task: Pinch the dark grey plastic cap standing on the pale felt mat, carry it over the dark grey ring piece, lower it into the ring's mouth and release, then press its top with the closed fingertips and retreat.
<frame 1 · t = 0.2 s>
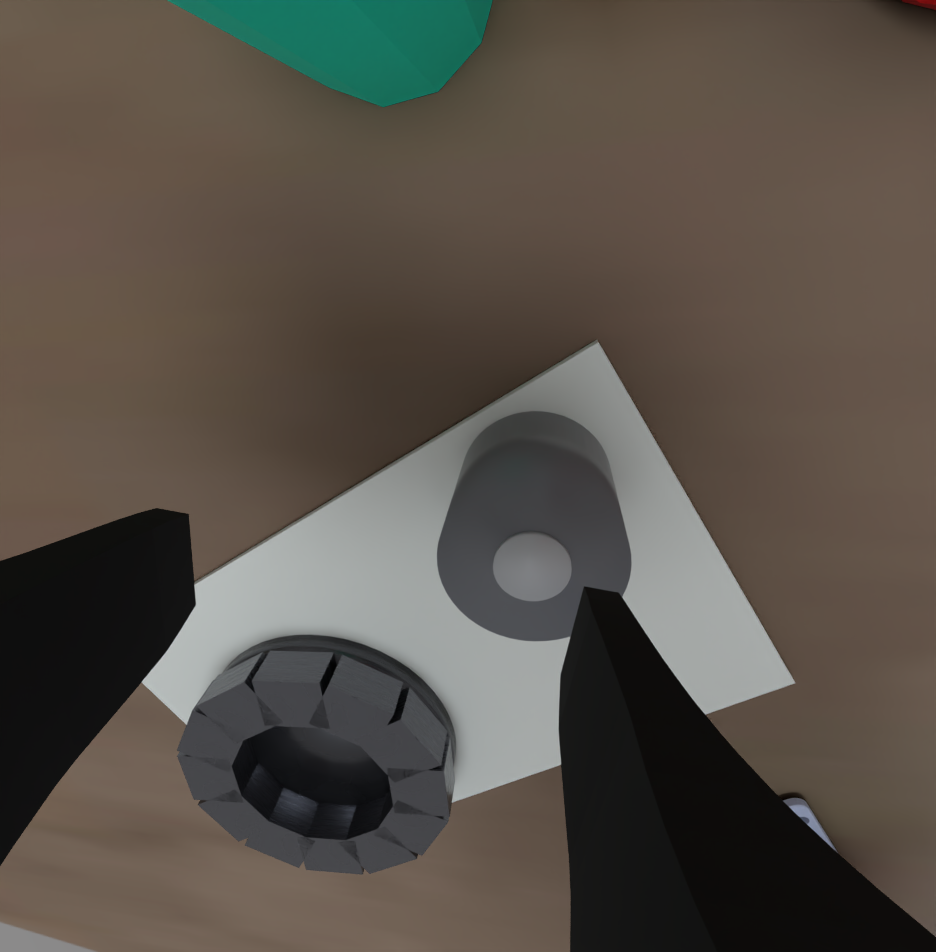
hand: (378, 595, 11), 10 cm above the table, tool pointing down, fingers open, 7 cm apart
cap: (535, 482, 20), resting on mat
dark grey ring piece: (333, 733, 26), resting on mat
mat: (423, 654, 24), on the table
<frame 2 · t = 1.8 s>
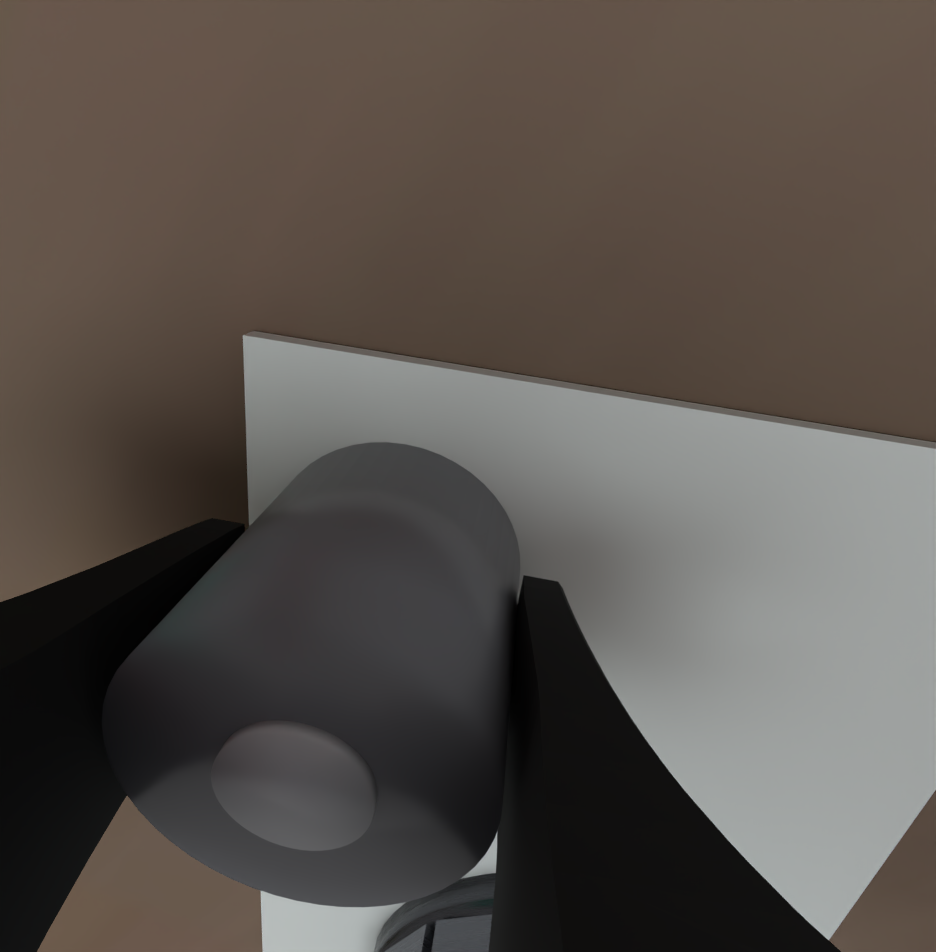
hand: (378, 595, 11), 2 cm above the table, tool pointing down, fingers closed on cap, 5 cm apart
cap: (394, 559, 12), resting on mat, touching gripper
mat: (543, 839, 15), on the table
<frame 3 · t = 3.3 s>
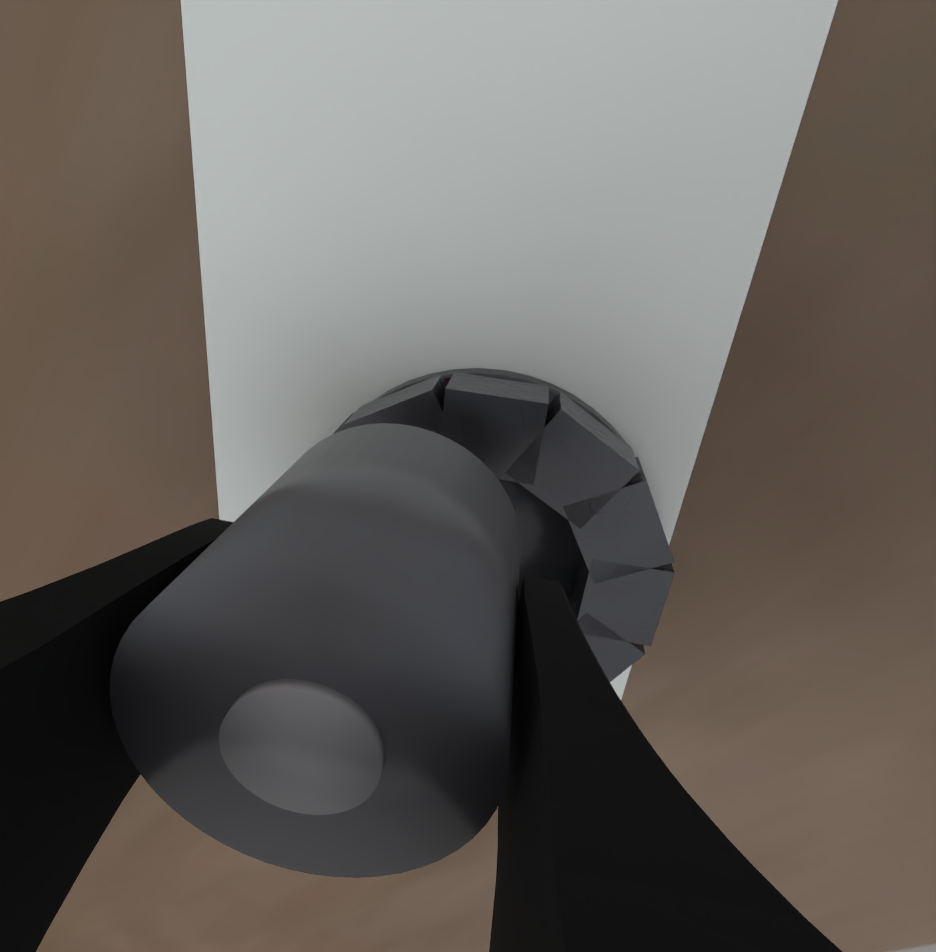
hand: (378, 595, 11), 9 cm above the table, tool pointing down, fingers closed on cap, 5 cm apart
cap: (395, 542, 12), point 7 cm above the table, touching gripper
dark grey ring piece: (479, 532, 19), resting on mat
mat: (456, 342, 17), on the table
when the fingers open (4 cm above the table, at t = 5.0 s): cap stays where it is, resting on dark grey ring piece.
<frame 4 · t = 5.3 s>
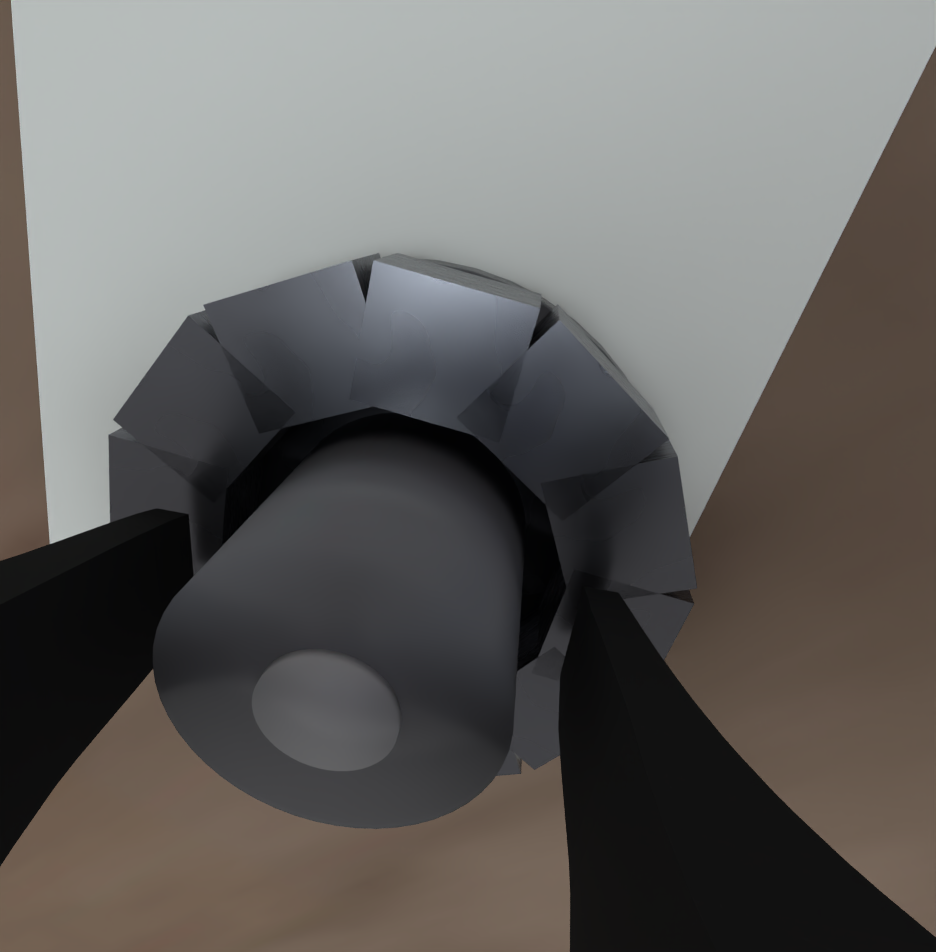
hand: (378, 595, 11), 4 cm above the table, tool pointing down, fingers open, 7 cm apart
cap: (407, 524, 12), point 1 cm above the table, touching dark grey ring piece
dark grey ring piece: (415, 512, 13), resting on mat
mat: (409, 218, 11), on the table
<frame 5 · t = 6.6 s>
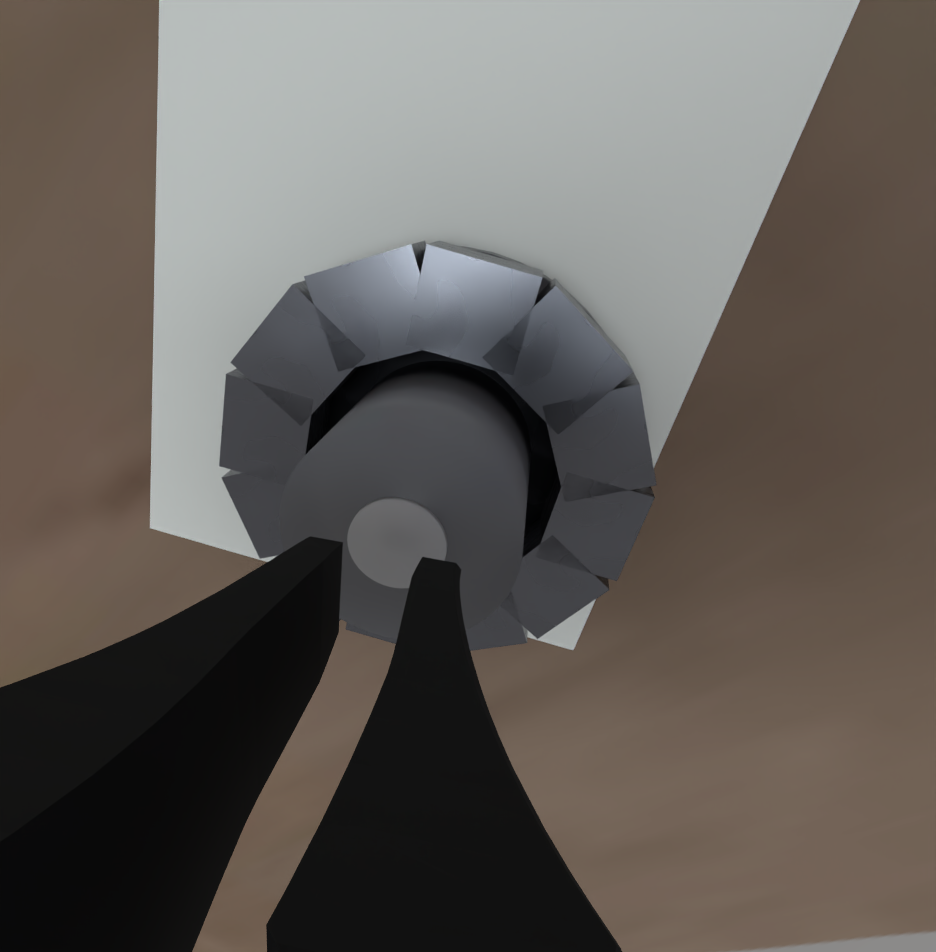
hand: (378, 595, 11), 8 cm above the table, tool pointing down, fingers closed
cap: (440, 449, 16), point 1 cm above the table, touching dark grey ring piece
dark grey ring piece: (444, 444, 17), resting on mat
mat: (444, 215, 15), on the table
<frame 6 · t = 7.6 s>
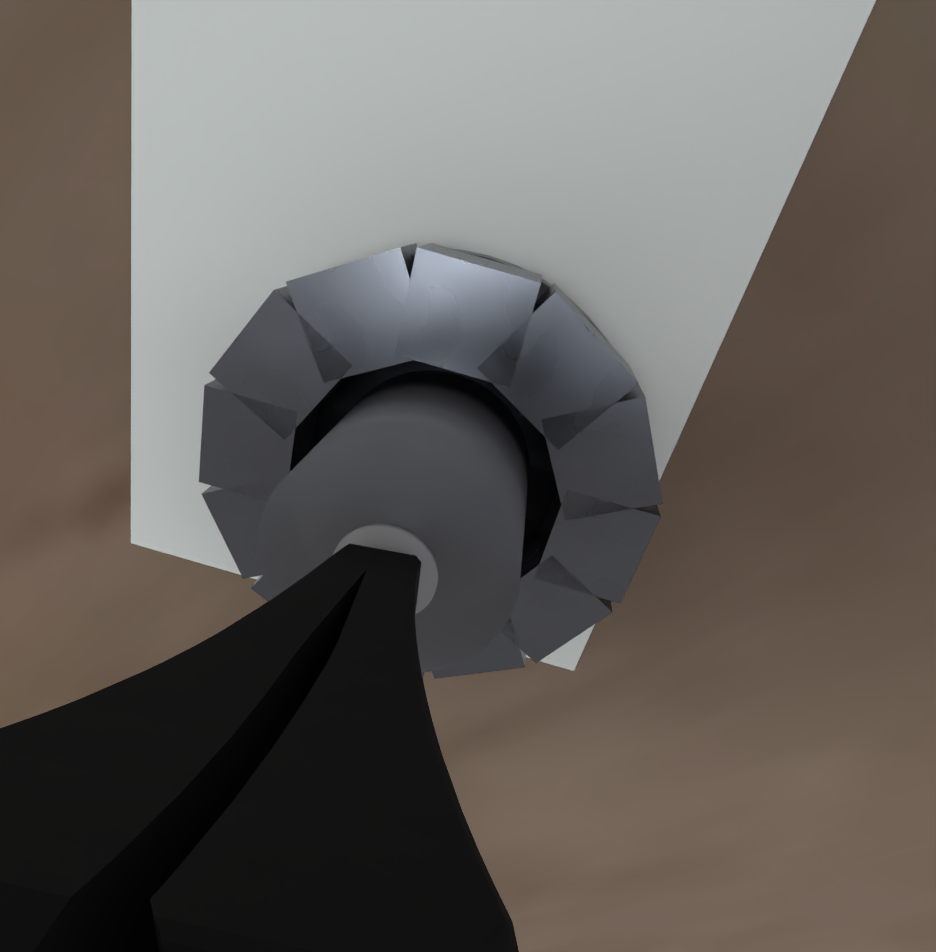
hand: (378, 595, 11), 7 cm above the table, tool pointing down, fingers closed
cap: (434, 463, 15), point 1 cm above the table, touching dark grey ring piece
dark grey ring piece: (438, 457, 16), resting on mat
mat: (437, 216, 14), on the table
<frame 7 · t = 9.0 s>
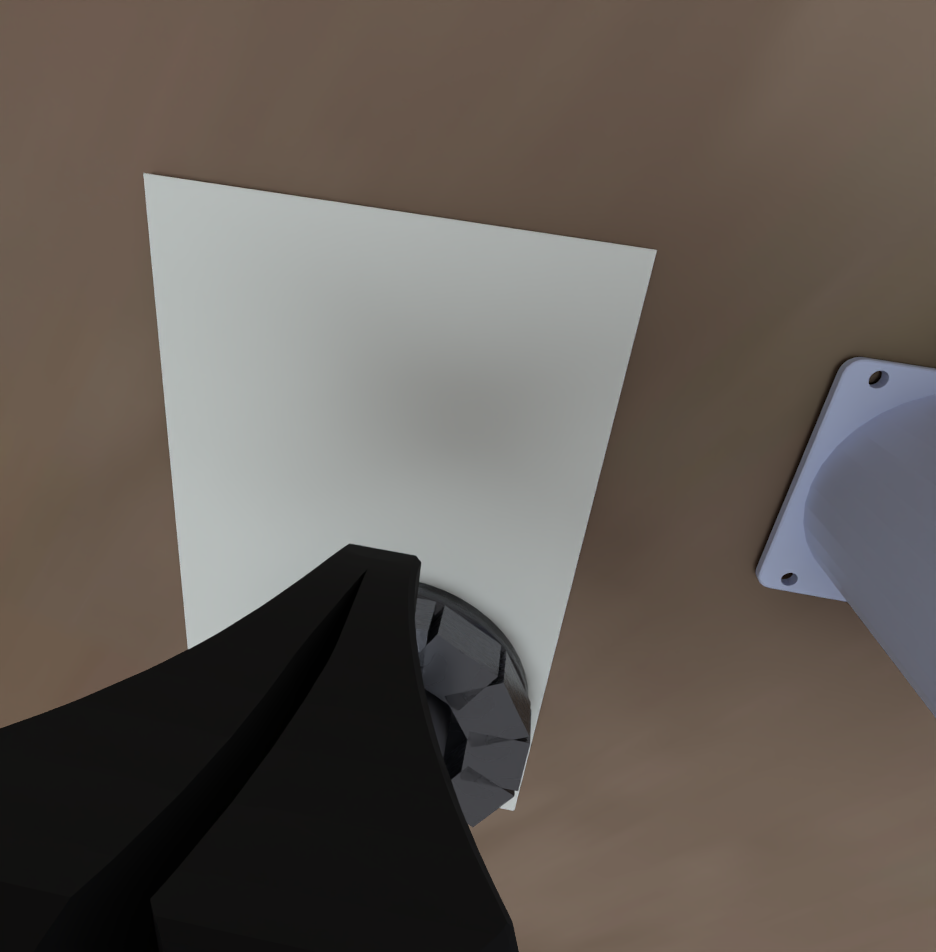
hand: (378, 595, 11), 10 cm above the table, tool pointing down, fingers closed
cap: (389, 701, 23), point 1 cm above the table, touching dark grey ring piece
dark grey ring piece: (395, 687, 24), resting on mat
mat: (371, 555, 22), on the table
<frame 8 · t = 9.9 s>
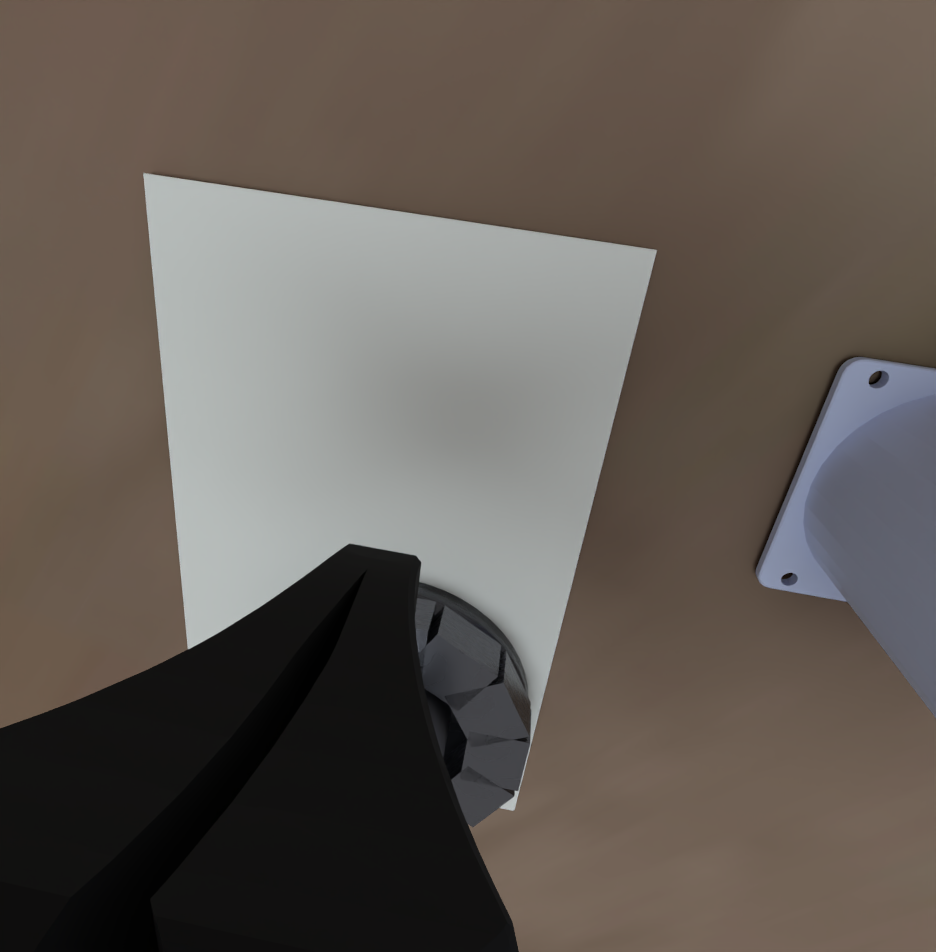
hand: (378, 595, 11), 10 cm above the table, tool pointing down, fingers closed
cap: (389, 701, 23), point 1 cm above the table, touching dark grey ring piece
dark grey ring piece: (395, 687, 24), resting on mat
mat: (371, 555, 22), on the table
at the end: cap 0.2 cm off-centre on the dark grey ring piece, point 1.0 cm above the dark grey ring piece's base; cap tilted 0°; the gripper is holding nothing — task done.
